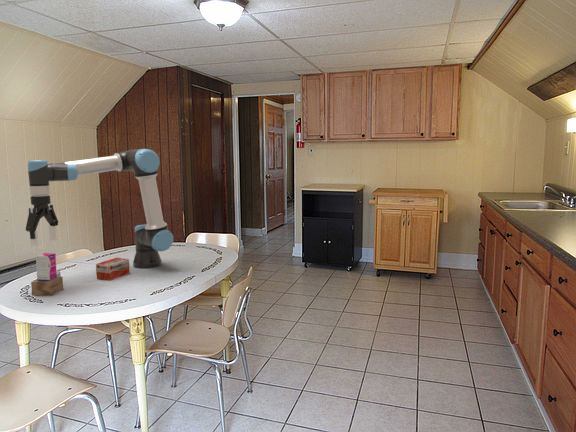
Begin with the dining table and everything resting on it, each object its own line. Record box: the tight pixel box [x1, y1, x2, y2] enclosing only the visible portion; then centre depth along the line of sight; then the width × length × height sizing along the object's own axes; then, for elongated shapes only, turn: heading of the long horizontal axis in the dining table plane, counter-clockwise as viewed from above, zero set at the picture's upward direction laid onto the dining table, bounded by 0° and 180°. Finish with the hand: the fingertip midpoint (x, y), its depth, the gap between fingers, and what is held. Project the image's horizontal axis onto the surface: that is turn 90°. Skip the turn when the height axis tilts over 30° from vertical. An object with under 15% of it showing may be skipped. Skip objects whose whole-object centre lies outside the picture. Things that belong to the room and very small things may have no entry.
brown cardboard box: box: [30, 276, 64, 296], centre depth 196 cm, size 9×9×6 cm
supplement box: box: [35, 252, 57, 281], centre depth 194 cm, size 6×6×12 cm
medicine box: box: [95, 257, 131, 281], centre depth 222 cm, size 15×8×8 cm, turn 159°
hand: (44, 243), depth 193 cm, fingers open, 13 cm apart
